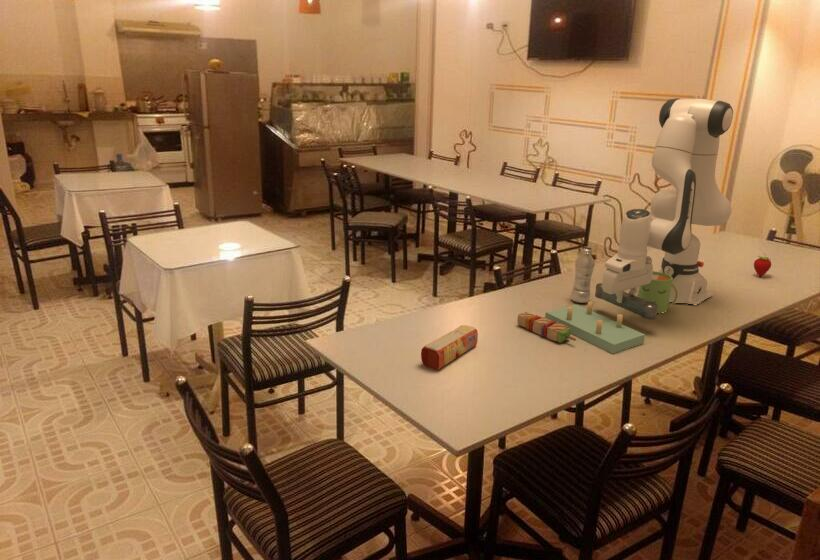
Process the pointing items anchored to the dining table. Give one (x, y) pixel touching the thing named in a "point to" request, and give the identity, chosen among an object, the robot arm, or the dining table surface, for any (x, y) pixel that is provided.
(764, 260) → the strawberry
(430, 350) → the snack package
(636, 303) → the long charcoal rail
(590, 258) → the plastic bottle
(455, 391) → the dining table surface
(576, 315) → the peg rack
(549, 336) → the skewer
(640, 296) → the mug
